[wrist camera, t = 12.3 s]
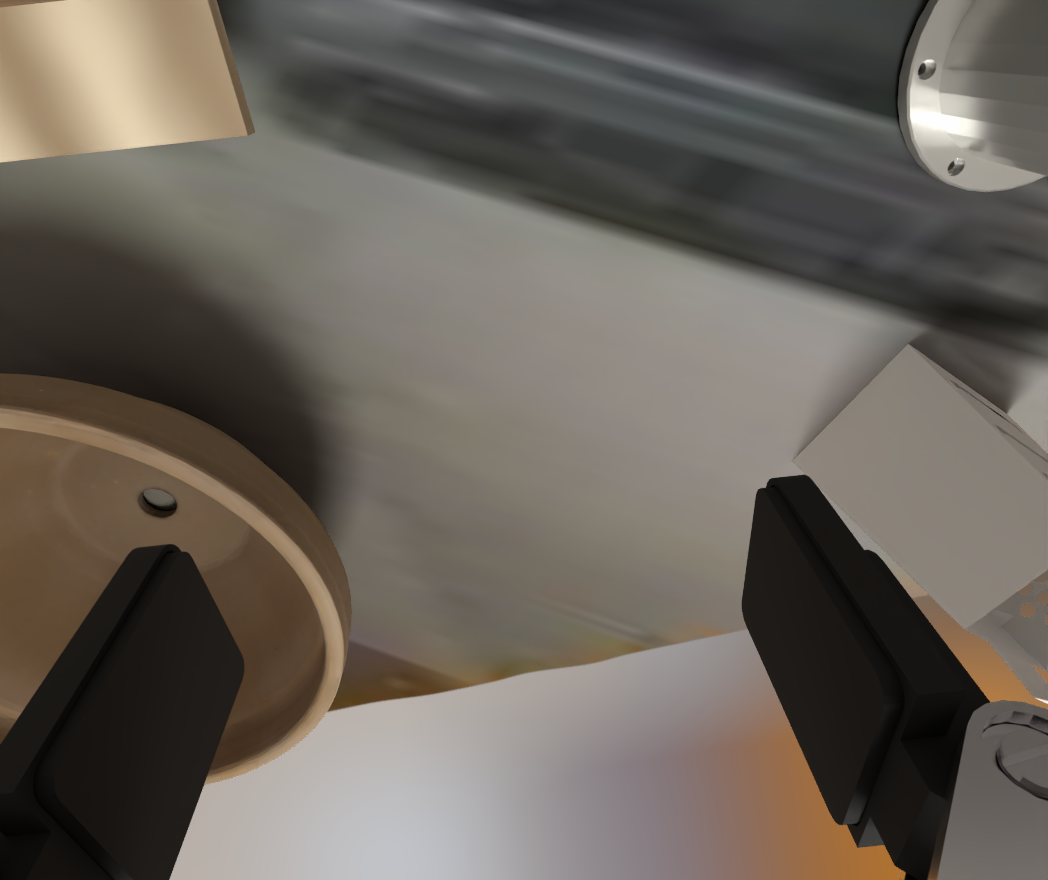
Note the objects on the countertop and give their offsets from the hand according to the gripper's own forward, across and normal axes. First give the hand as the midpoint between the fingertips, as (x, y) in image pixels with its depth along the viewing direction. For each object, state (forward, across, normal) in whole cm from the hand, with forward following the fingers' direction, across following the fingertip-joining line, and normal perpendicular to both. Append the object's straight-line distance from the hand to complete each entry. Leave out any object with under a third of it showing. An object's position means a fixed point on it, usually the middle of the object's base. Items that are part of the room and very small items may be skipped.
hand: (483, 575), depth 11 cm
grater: (+28, -27, +19) cm, 44 cm away
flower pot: (+29, +24, +17) cm, 41 cm away
